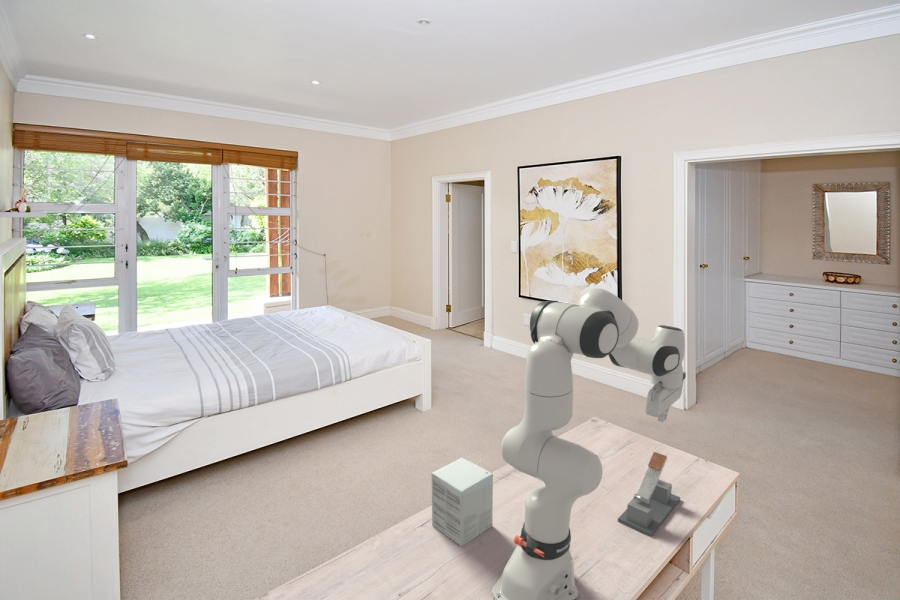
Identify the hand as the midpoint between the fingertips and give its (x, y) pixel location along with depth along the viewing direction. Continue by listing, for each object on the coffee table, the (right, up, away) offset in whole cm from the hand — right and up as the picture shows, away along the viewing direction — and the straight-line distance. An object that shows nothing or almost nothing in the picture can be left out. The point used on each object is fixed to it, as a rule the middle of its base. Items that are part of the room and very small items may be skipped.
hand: (662, 420), depth 145 cm
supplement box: (-62, -31, -4) cm, 69 cm away
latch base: (-3, -29, +3) cm, 29 cm away
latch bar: (-3, -18, 0) cm, 18 cm away
